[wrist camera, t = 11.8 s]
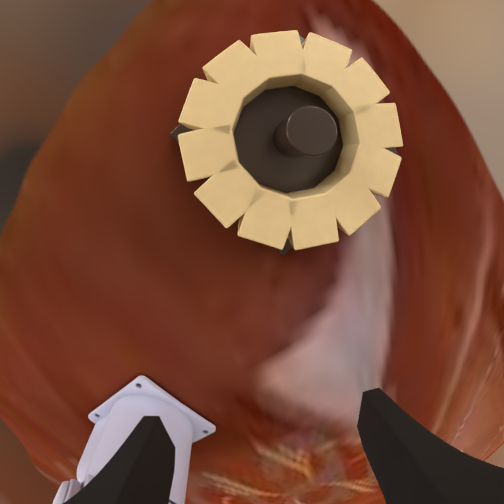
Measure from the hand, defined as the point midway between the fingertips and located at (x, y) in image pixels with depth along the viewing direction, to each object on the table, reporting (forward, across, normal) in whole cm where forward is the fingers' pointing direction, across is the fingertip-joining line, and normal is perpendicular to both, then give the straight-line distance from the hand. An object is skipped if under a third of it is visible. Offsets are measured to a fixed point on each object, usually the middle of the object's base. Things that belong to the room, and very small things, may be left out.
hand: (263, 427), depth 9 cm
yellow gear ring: (+9, -3, -10) cm, 13 cm away
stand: (+10, -3, -10) cm, 14 cm away
